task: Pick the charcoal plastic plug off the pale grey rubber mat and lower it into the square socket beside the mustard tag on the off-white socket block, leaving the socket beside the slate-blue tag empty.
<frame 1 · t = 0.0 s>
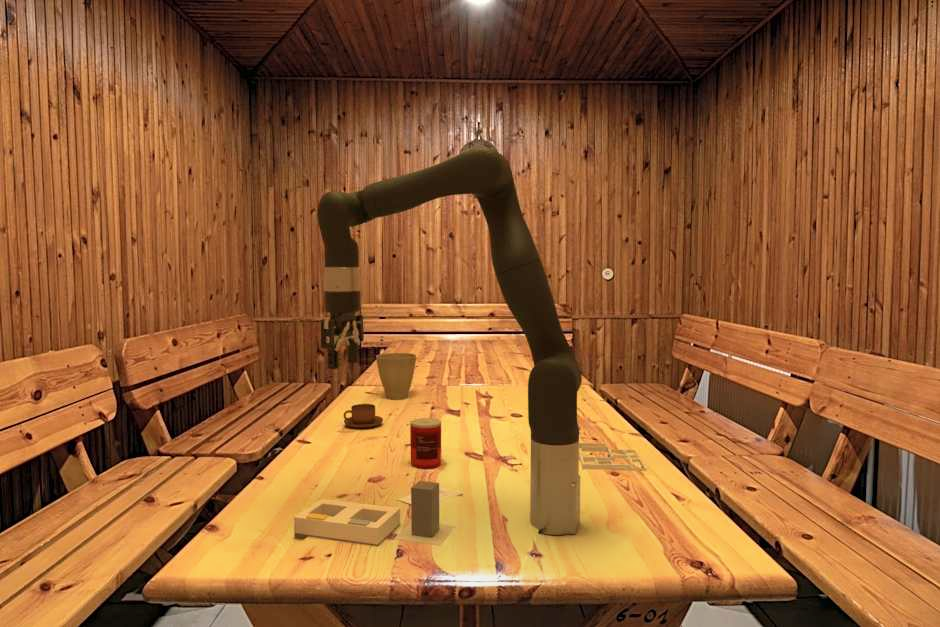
hand: (343, 365, 140), 29 cm above the table, tool pointing down, fingers open, 8 cm apart
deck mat: (425, 536, 124), on the table
external hard drive: (430, 503, 143), on the table
plug: (425, 532, 124), point 1 cm above the table, touching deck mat
plant pot: (396, 398, 249), on the table
socket block: (348, 533, 126), on the table
floor plan model: (591, 461, 173), on the table
canned food: (426, 465, 168), on the table
cup and saucer: (363, 426, 207), on the table
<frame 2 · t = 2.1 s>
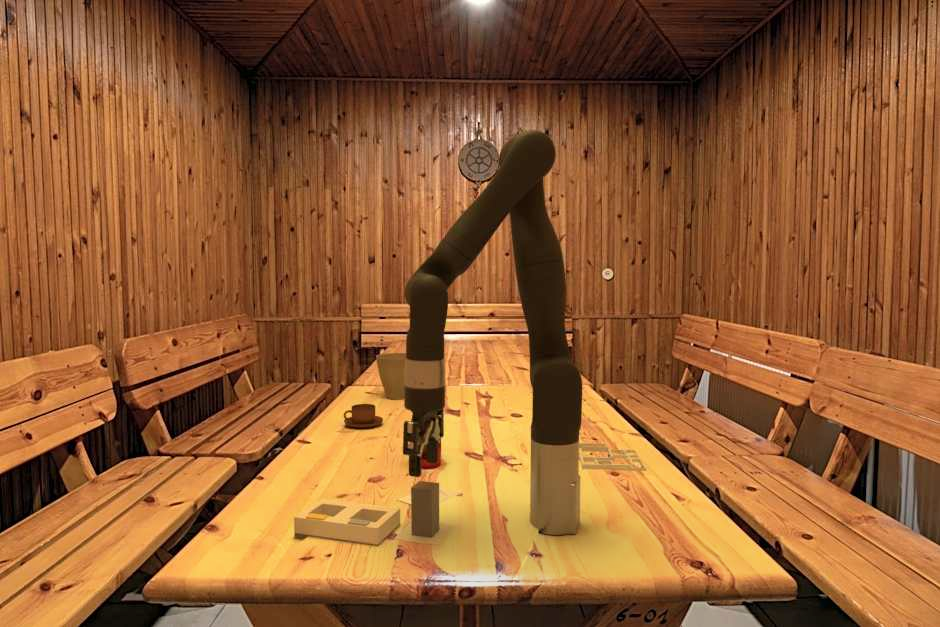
hand: (424, 469, 123), 13 cm above the table, tool pointing down, fingers open, 8 cm apart
nothing on the table moved.
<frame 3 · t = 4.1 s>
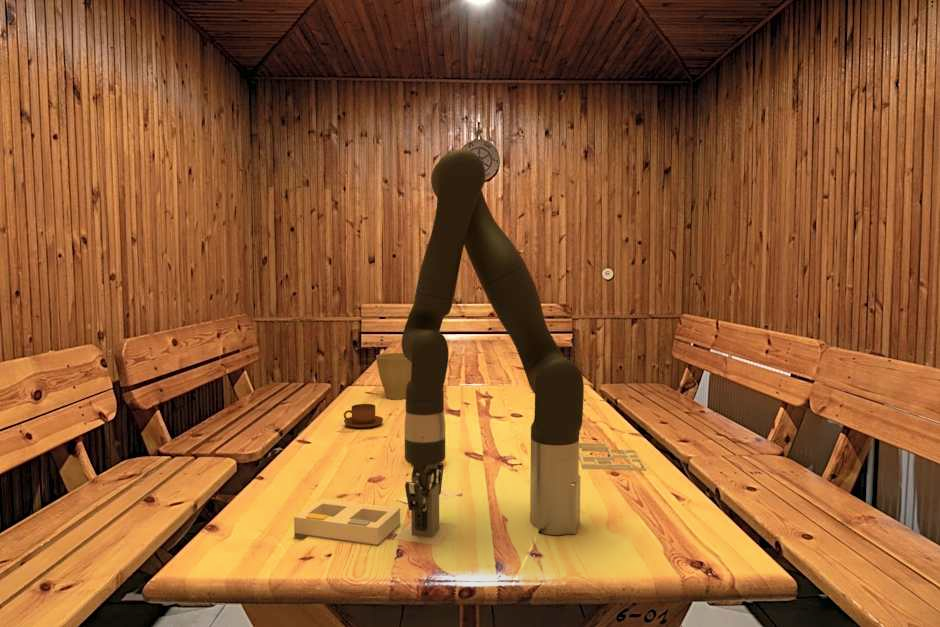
hand: (425, 524, 124), 2 cm above the table, tool pointing down, fingers closed on plug, 4 cm apart
plug: (425, 532, 124), point 1 cm above the table, touching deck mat, gripper
everything else where it was.
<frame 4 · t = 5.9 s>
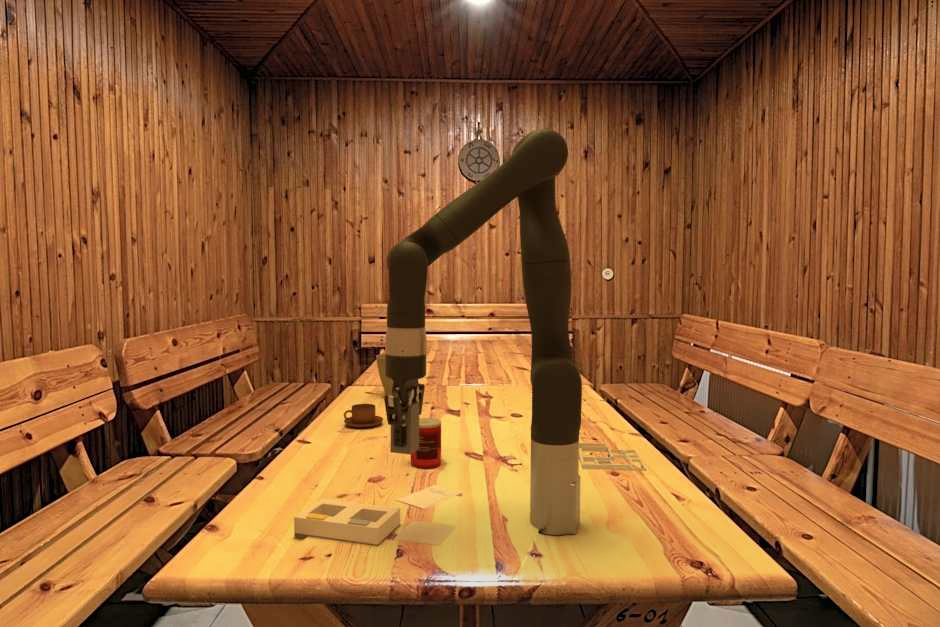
hand: (405, 442, 123), 18 cm above the table, tool pointing down, fingers closed on plug, 4 cm apart
plug: (404, 450, 123), point 16 cm above the table, touching gripper
everything else where it was.
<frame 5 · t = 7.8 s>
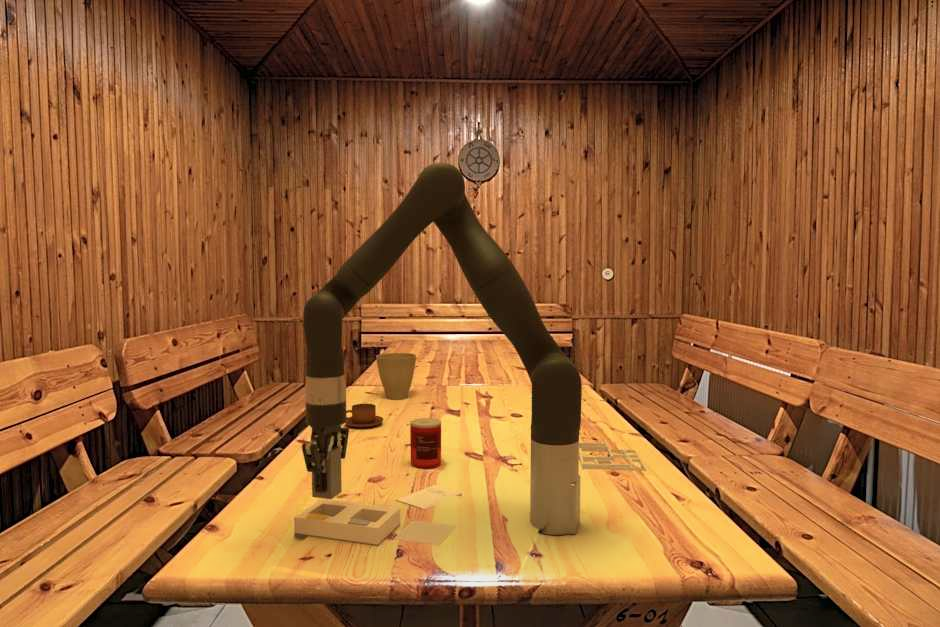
hand: (327, 487, 126), 8 cm above the table, tool pointing down, fingers closed on plug, 4 cm apart
plug: (327, 494, 127), point 7 cm above the table, touching gripper
everything else where it was.
when the fingers open (4 cm above the table, at t = 9.3 s): plug drops 2 cm, resting on socket block.
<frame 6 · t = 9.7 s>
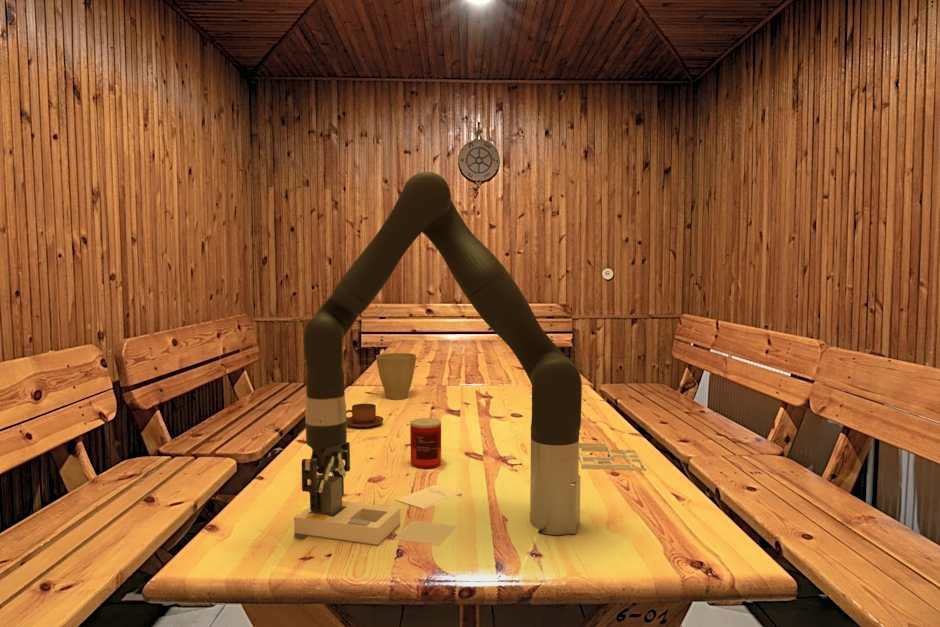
hand: (327, 503, 127), 5 cm above the table, tool pointing down, fingers open, 7 cm apart
plug: (327, 525, 127), point 1 cm above the table, touching socket block
everything else where it was.
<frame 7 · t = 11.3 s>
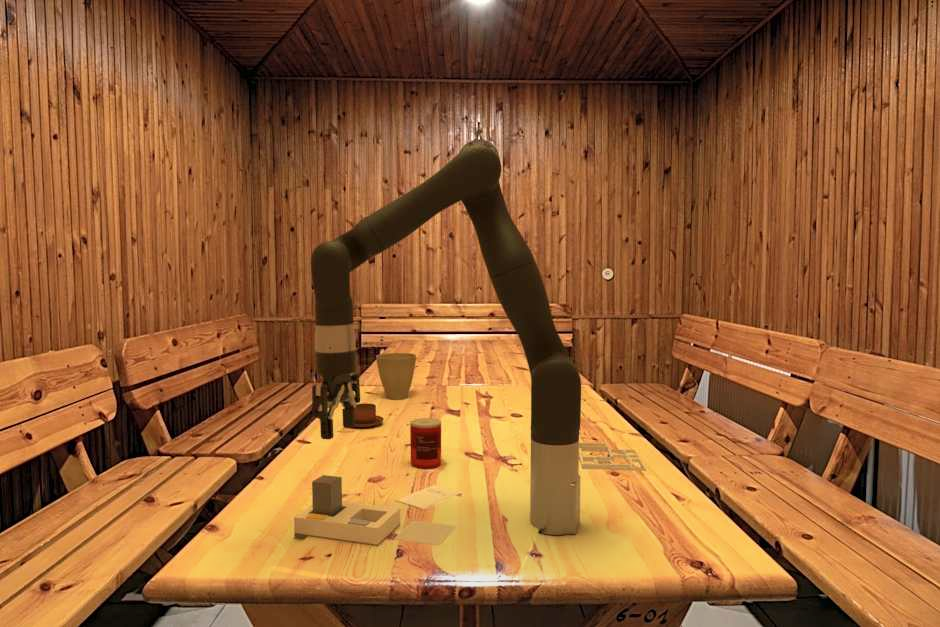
hand: (338, 432, 126), 19 cm above the table, tool pointing down, fingers open, 8 cm apart
nothing on the table moved.
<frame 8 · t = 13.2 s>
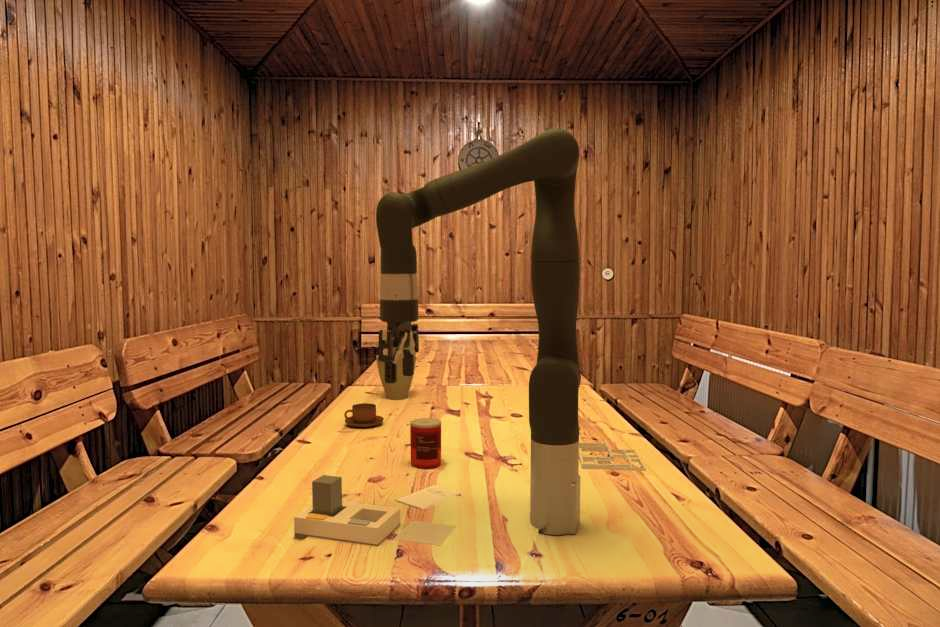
hand: (399, 379, 131), 28 cm above the table, tool pointing down, fingers open, 8 cm apart
nothing on the table moved.
at the end: plug 0.0 cm from the target spot on the socket block, point 1.0 cm above the socket block's base; plug tilted 0°; the gripper is holding nothing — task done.
